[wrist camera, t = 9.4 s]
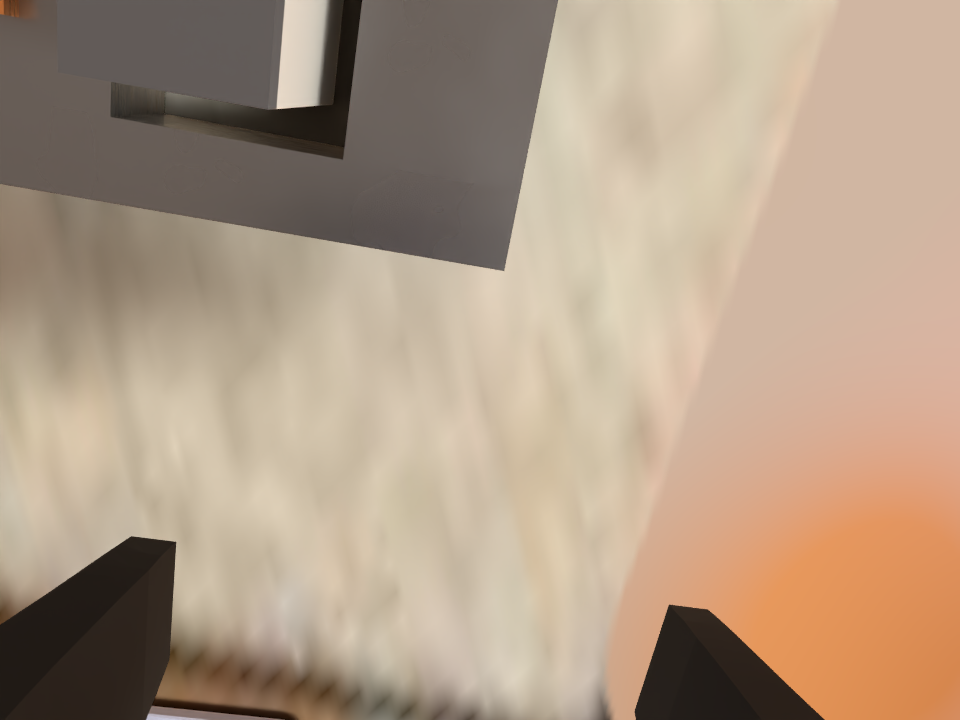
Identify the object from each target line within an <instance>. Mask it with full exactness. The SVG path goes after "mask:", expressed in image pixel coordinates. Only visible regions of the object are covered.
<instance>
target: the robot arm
mask: <svg viewBox="0 0 960 720" xmlns="http://www.w3.org/2000/svg"><path fill="white" fill-rule="evenodd" d="M175 553H176V542H172V541H164V540H156V539H148V538H141V537H133V536H131V537H130V538H128V539H127V540H125V541H124V542H122V543H121V544H119V545H118V546H116V547H115V548H113V549H112V550H110V551H109V552H107V553H106V554H104V555H103V556H101V557H100V558H98V559H97V560H95V561H94V562H93V563H91V564H90V565H88V566H87V567H85V568H84V569H82V570H81V571H80V572H78V573H77V574H75V575H74V576H72V577H71V578H69V579H68V580H66V581H65V582H64V583H62V584H61V585H59V586H58V587H56V588H55V589H53V590H52V591H50V592H49V593H48V594H46V595H45V596H43V597H41V598H40V599H38V600H37V601H35V602H34V603H32V604H31V605H29V606H28V607H26V608H25V609H23V610H22V611H20V612H19V613H17V614H16V615H14V616H13V617H11V618H10V619H8V620H7V621H5V622H4V623H2V624H1V625H0V720H283V719H273V718H263V717H254V716H244V715H235V714H225V713H215V712H206V711H196V710H187V709H177V708H167V707H158V706H152V704H153V701H154V699H155V696H156V694H157V691H158V688H159V686H160V683H161V680H162V678H163V675H164V672H165V670H166V667H167V664H168V662H169V656H170V639H171V622H172V605H173V587H174V570H175ZM635 716H636V720H824V719H823V718H822V717H821V716H820V715H819V714H818V713H817V712H816V711H815V710H814V709H813V708H811V707H810V706H809V705H808V704H807V703H806V702H805V701H804V700H803V699H802V698H801V697H800V696H799V695H798V694H797V693H795V691H794V690H793V689H791V688H790V687H789V686H788V685H787V684H786V683H785V682H784V681H783V680H782V679H781V678H780V677H779V676H778V675H777V674H776V673H775V672H774V671H773V670H772V669H771V668H770V667H769V666H768V665H767V664H766V663H765V662H764V661H763V660H761V659H760V658H759V657H758V656H757V655H756V654H755V653H754V652H753V651H752V650H751V649H750V648H749V647H748V646H747V645H746V644H745V643H744V642H743V641H742V640H741V639H740V638H738V636H737V635H736V634H734V633H733V632H732V631H731V630H730V629H729V628H728V627H727V626H726V625H725V624H724V623H722V622H721V621H720V620H719V619H718V618H717V617H716V616H715V615H714V614H712V613H711V612H710V611H709V610H707V609H699V608H691V607H683V606H675V605H669V607H668V610H667V613H666V616H665V619H664V622H663V625H662V628H661V631H660V634H659V638H658V641H657V644H656V647H655V650H654V653H653V656H652V659H651V662H650V665H649V668H648V672H647V675H646V678H645V681H644V684H643V687H642V690H641V693H640V696H639V699H638V702H637V705H636V709H635Z"/></svg>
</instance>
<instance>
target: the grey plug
mask: <svg viewBox="0 0 960 720" xmlns="http://www.w3.org/2000/svg"><path fill="white" fill-rule="evenodd" d="M343 4H344V0H57V51H58V72H59V73H65V74H70V75H76V76H81V77H87V78H93V79H98V80H104V81H109V82H115V83H121V84H126V85H132V86H137V87H143V88H149V89H154V90H160V91H166V92H171V93H177V94H182V95H188V96H194V97H199V98H205V99H210V100H216V101H222V102H227V103H233V104H238V105H244V106H250V107H255V108H261V109H266V110H271V109H284V108H296V107H308V106H321V105H333V101H334V91H335V81H336V72H337V62H338V52H339V43H340V33H341V23H342V13H343Z"/></svg>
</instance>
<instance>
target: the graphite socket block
mask: <svg viewBox="0 0 960 720" xmlns="http://www.w3.org/2000/svg"><path fill="white" fill-rule="evenodd" d="M557 3H558V0H362V7H361V15H360V23H359V32H358V40H357V48H356V57H355V65H354V73H353V81H352V90H351V98H350V106H349V115H348V123H347V131H346V140H345V147H341V146H335V145H330V144H325V143H319V142H314V141H308V140H303V139H298V138H292V137H287V136H282V135H276V134H271V133H266V132H260V131H255V130H250V129H244V128H239V127H233V126H228V125H223V124H217V123H212V122H207V121H201V120H196V119H191V118H185V117H180V116H174V115H169V114H164V108H165V91H160V90H154V89H149V88H143V87H137V86H132V85H126V84H121V83H115V82H109V81H104V80H98V79H93V78H87V77H81V76H76V75H70V74H65V73H59V72H58V51H57V0H0V184H4V185H10V186H16V187H22V188H27V189H33V190H39V191H45V192H51V193H56V194H62V195H68V196H74V197H80V198H85V199H91V200H97V201H103V202H108V203H114V204H120V205H126V206H132V207H137V208H143V209H149V210H155V211H161V212H166V213H172V214H178V215H184V216H189V217H195V218H201V219H207V220H213V221H218V222H224V223H230V224H236V225H242V226H247V227H253V228H259V229H265V230H270V231H276V232H282V233H288V234H294V235H299V236H305V237H311V238H317V239H323V240H328V241H334V242H340V243H346V244H351V245H357V246H363V247H369V248H375V249H380V250H386V251H392V252H398V253H404V254H409V255H415V256H421V257H427V258H432V259H438V260H444V261H450V262H456V263H461V264H467V265H473V266H479V267H485V268H490V269H496V270H502V271H504V268H505V263H506V258H507V253H508V248H509V243H510V238H511V233H512V228H513V223H514V218H515V213H516V208H517V203H518V198H519V193H520V188H521V183H522V178H523V173H524V168H525V163H526V158H527V153H528V148H529V143H530V138H531V133H532V128H533V123H534V118H535V113H536V108H537V103H538V98H539V93H540V88H541V83H542V78H543V73H544V68H545V63H546V58H547V53H548V48H549V43H550V38H551V33H552V28H553V23H554V18H555V13H556V8H557Z"/></svg>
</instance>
